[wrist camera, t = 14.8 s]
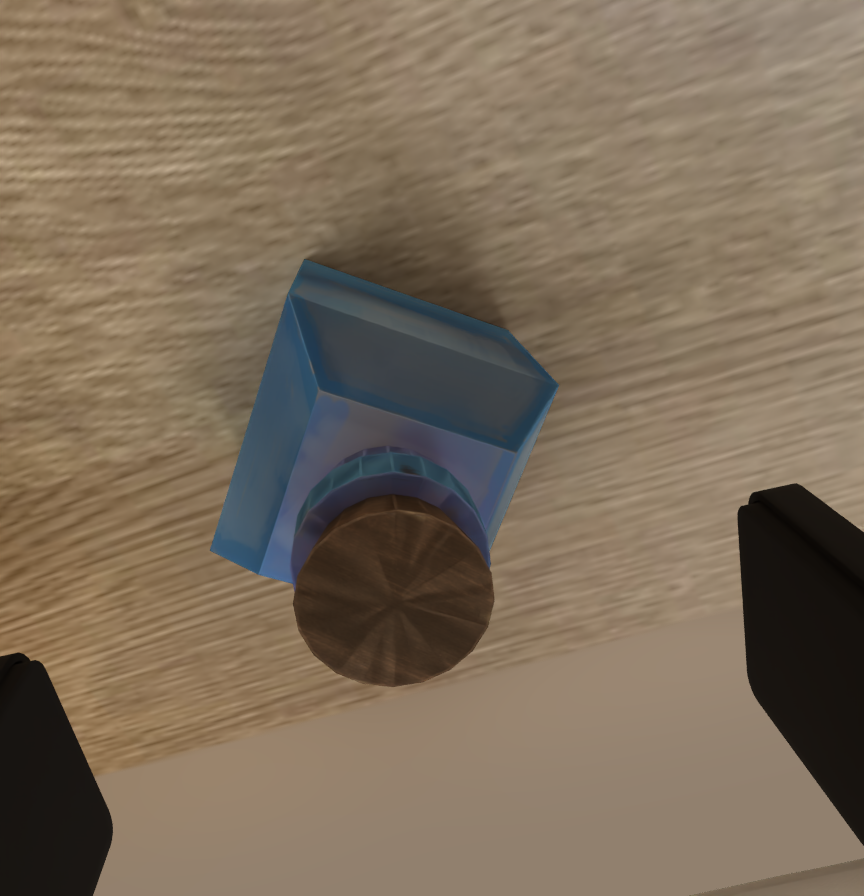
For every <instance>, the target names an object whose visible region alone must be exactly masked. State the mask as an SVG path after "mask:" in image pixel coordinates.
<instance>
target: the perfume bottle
mask: <svg viewBox="0 0 864 896" xmlns="http://www.w3.org/2000/svg"><path fill="white" fill-rule="evenodd" d="M558 387H559V384H558V383H557V382H556V381H555V380H554V379H553V378H552V377H551V376H550V375H549V374H548V373H547V372H546V371H545V369H544V368H543V367H542V366H541V365H540V364H539V363H538V362H537V361H536V360H535V359H534V358H533V357H532V355H531V354H530V353H529V352H528V351H527V350H526V349H525V348H524V347H523V346H522V345H521V344H520V343H519V342H518V340H517V339H516V338H515V337H514V336H513V335H512V334H511V333H510V332H509V331H508V330H506V329H503V328H500V327H497V326H495V325H492V324H489V323H486V322H483V321H480V320H477V319H475V318H472V317H469V316H466V315H463V314H460V313H457V312H455V311H452V310H449V309H446V308H443V307H440V306H437V305H435V304H432V303H429V302H426V301H423V300H420V299H417V298H415V297H412V296H409V295H406V294H403V293H400V292H397V291H395V290H392V289H389V288H386V287H383V286H380V285H377V284H375V283H372V282H369V281H366V280H363V279H360V278H357V277H355V276H352V275H349V274H346V273H343V272H340V271H337V270H335V269H332V268H329V267H326V266H323V265H320V264H318V263H315V262H312V261H309V260H306V259H304V261H303V263H302V265H301V267H300V269H299V271H298V274H297V276H296V278H295V280H294V282H293V284H292V286H291V288H290V290H289V292H288V295H287V298H286V301H285V305H284V308H283V311H282V315H281V318H280V321H279V324H278V328H277V331H276V334H275V338H274V341H273V344H272V348H271V351H270V354H269V357H268V361H267V364H266V367H265V371H264V374H263V377H262V380H261V384H260V387H259V390H258V394H257V397H256V400H255V404H254V407H253V410H252V413H251V417H250V420H249V423H248V427H247V430H246V433H245V437H244V440H243V443H242V446H241V450H240V453H239V456H238V460H237V463H236V466H235V469H234V473H233V476H232V479H231V483H230V486H229V489H228V493H227V496H226V499H225V502H224V506H223V509H222V512H221V516H220V519H219V522H218V526H217V529H216V532H215V535H214V539H213V542H212V545H211V549H210V551H212V552H214V553H216V554H218V555H220V556H222V557H224V558H226V559H228V560H230V561H232V562H234V563H236V564H238V565H240V566H242V567H244V568H246V569H248V570H250V571H252V572H254V573H256V574H258V575H262V576H266V577H269V578H273V579H277V580H281V581H284V582H288V583H292V584H293V586H294V591H295V594H294V601H293V606H294V611H295V616H296V621H297V625H298V630H299V632H300V634H301V636H302V637H303V639H304V640H305V642H306V644H307V645H308V647H309V648H310V650H311V651H312V653H313V655H314V656H316V657H317V658H318V659H319V660H321V661H322V662H323V663H324V664H326V665H327V666H328V667H329V668H330V669H332V670H333V671H334V672H335V673H337V674H340V675H342V676H345V677H347V678H350V679H352V680H355V681H357V682H360V683H362V684H370V685H379V686H389V687H396V686H402V685H408V684H414V683H421V682H424V681H427V680H429V679H431V678H433V677H435V676H438V675H440V674H442V673H444V672H446V671H449V670H451V669H452V668H453V667H454V666H455V665H457V664H458V663H459V662H460V661H461V660H462V659H464V658H465V657H466V656H467V655H468V654H470V653H471V652H472V651H473V649H474V648H475V646H476V645H477V643H478V642H479V640H480V639H481V637H482V635H483V634H484V632H485V631H486V629H487V628H488V624H489V620H490V616H491V612H492V608H493V604H494V592H493V582H492V573H491V571H490V565H491V562H490V553H489V551H490V549H491V546H492V544H493V542H494V539H495V537H496V534H497V532H498V530H499V527H500V525H501V522H502V520H503V518H504V515H505V513H506V511H507V508H508V506H509V503H510V501H511V499H512V496H513V494H514V492H515V489H516V487H517V484H518V482H519V480H520V477H521V475H522V472H523V470H524V468H525V465H526V463H527V461H528V458H529V456H530V453H531V451H532V449H533V446H534V444H535V442H536V439H537V437H538V434H539V432H540V430H541V427H542V425H543V422H544V420H545V418H546V415H547V413H548V411H549V408H550V406H551V403H552V401H553V399H554V396H555V394H556V392H557V389H558Z"/></svg>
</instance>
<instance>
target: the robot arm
mask: <svg viewBox="0 0 864 896" xmlns="http://www.w3.org/2000/svg"><path fill="white" fill-rule="evenodd" d="M738 534H739V550H740V566H741V582H742V598H743V614H744V628H745V646H746V661H747V674H748V679H749V683H750V686H751V689H752V691H753V693H754V696H755V697H756V699H757V700H758V702H759V704H760V705H761V706H762V707H763V709H764V710H765V712H766V713H767V714H768V716H769V717H770V719H771V720H772V721H773V723H774V724H775V725H776V727H777V728H778V729H779V731H780V732H781V733H782V735H783V736H784V738H785V739H786V740H787V742H788V743H789V745H790V746H791V747H792V749H793V750H794V751H795V753H796V754H797V756H798V757H799V758H800V760H801V761H802V762H803V764H804V765H805V766H806V768H807V769H808V770H809V772H810V773H811V775H812V776H813V777H814V779H815V780H816V781H817V783H818V784H819V786H820V787H821V788H822V790H823V791H824V792H825V794H826V795H827V797H828V798H829V799H830V801H831V802H832V803H833V805H834V806H835V807H836V809H837V810H838V811H839V813H840V814H841V816H842V817H843V818H844V820H845V821H846V823H847V824H848V825H849V827H850V828H851V829H852V831H853V832H854V833H855V835H856V836H857V838H858V839H859V840H860V842H861V843H862V844H863V845H864V532H863V531H861V530H860V529H859V528H857V527H856V526H855V525H853V524H852V523H851V522H849V521H848V520H847V519H845V518H844V517H843V516H841V515H840V514H839V513H837V512H836V511H835V510H833V509H832V508H831V507H829V506H828V505H827V504H825V503H824V502H823V501H821V500H820V499H819V498H817V497H816V496H815V495H813V494H812V493H811V492H809V491H808V490H807V489H805V488H804V487H803V486H801V485H799V484H797V483H796V484H790V485H785V486H781V487H776V488H771V489H767V490H762V491H758V492H753V493H752V494H751V496H750V498H749V503H748V505H744V506H741V507H740V508H739V510H738ZM112 835H113V826H112V819H111V815H110V812H109V810H108V807H107V805H106V803H105V801H104V799H103V796H102V794H101V792H100V789H99V787H98V785H97V783H96V781H95V778H94V776H93V774H92V772H91V769H90V767H89V765H88V763H87V760H86V758H85V756H84V754H83V751H82V749H81V747H80V745H79V743H78V740H77V738H76V736H75V734H74V731H73V729H72V727H71V725H70V722H69V720H68V718H67V716H66V713H65V711H64V709H63V707H62V705H61V702H60V700H59V698H58V696H57V693H56V691H55V689H54V687H53V684H52V682H51V680H50V678H49V675H48V673H47V671H46V669H45V667H44V666H43V664H42V663H40V662H39V661H36V660H34V661H30V659H29V658H28V657H27V656H25V655H24V654H22V653H14V654H10V655H5V656H1V657H0V896H93V894H94V891H95V888H96V885H97V882H98V879H99V877H100V874H101V871H102V868H103V865H104V863H105V860H106V857H107V854H108V851H109V848H110V845H111V841H112ZM690 896H864V858H863V859H859V860H854V861H850V862H845V863H840V864H836V865H831V866H827V867H821V868H816V869H812V870H807V871H801V872H796V873H791V874H786V875H781V876H777V877H773V878H768V879H763V880H759V881H754V882H750V883H745V884H740V885H736V886H731V887H727V888H722V889H718V890H713V891H709V892H704V893H699V894H695V895H690Z"/></svg>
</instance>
